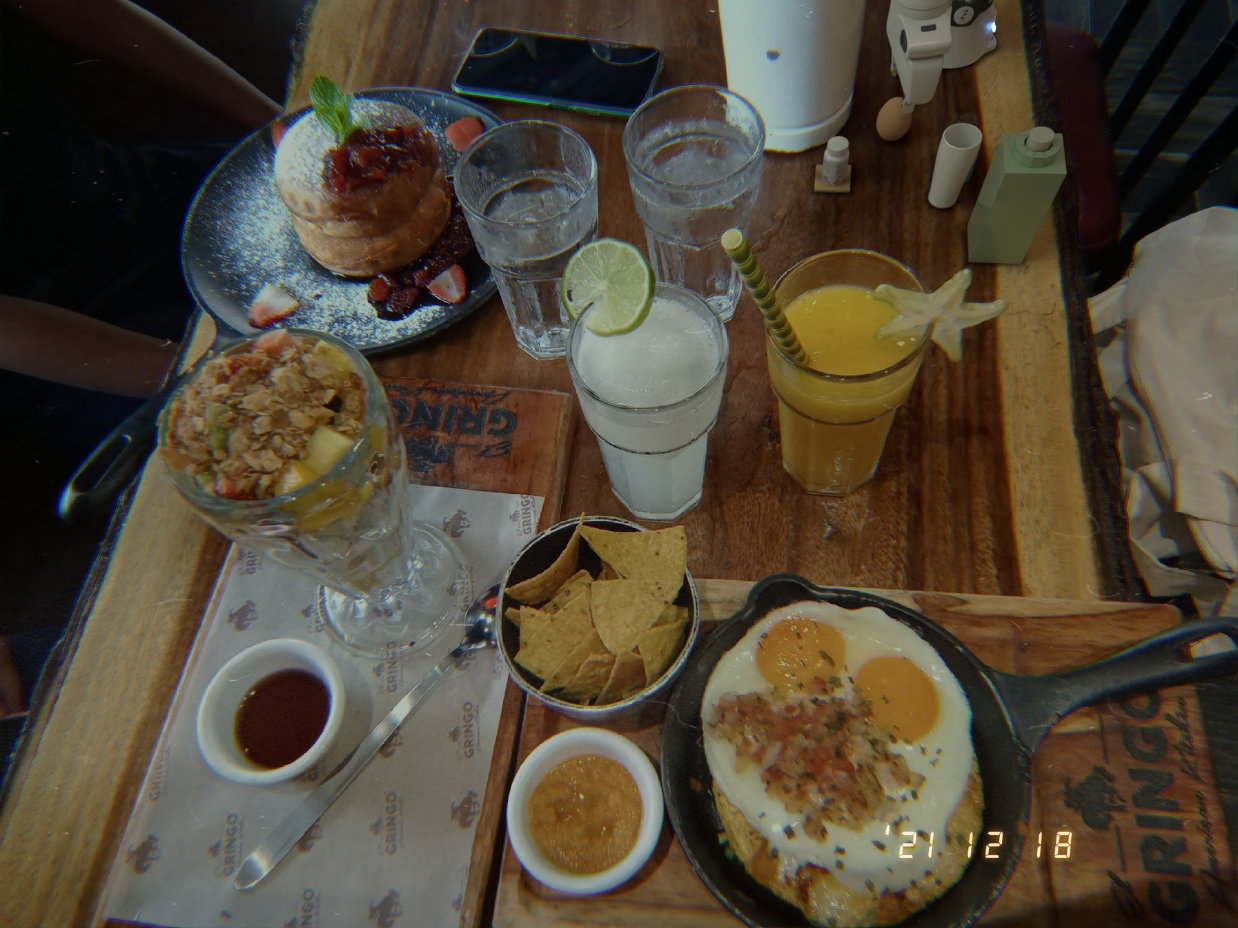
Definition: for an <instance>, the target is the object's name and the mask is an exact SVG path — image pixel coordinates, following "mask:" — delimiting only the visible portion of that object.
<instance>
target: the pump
mask: <svg viewBox="0 0 1238 928" xmlns="http://www.w3.org/2000/svg"><path fill="white" fill-rule="evenodd" d="M1031 129H1032V130H1031V131H1030V134H1029V136H1028V138H1027V141H1026V143H1025V145H1026V147H1027V148H1028V149H1029V150H1031V151H1034V152H1045V151H1047V150H1048V149H1049V148H1050V145H1051V143H1052V141H1053V139H1054V137H1055V134H1054V133H1055V131H1054V130H1053V129H1052V128H1050V127H1047V126H1041V125H1040V126H1036V127H1033V128H1031Z"/></svg>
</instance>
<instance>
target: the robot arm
mask: <svg viewBox="0 0 1238 928" xmlns="http://www.w3.org/2000/svg"><path fill="white" fill-rule="evenodd" d="M994 1H995V0H890V5H889V10H888V16H887V19H886V35H887V39H888V41H889V45H890V49H891V63H890V73H891V76H892V77H896V76H897V77H898V76H899V81H900V84H901V88H902V92H903V95H904V99H902V104H901V109H902V113H912V112H914V110H915V106H918V105H924V104H928V103H929V102H930V101H932V100H933V98H934V96H935V93H936V91H937V88H938V84H939V81H940V77H941V76H942V75H941V74H942V71H943V69H958V68H963V67H967V66H969V65H972V64H974V63H975V62H977V61H978V60H979V59H981V57H983V56H984V55H985V54H986V53H990V52H992V51H993V50H995V49H996V47H997V40H996V39H997V38H996V37H995V34H994V33H995V32H996V29H997V26H996V24H995V23H996V20H997V16H998V9H996V8H997V7H996V6H995V4H994Z"/></svg>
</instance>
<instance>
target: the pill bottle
mask: <svg viewBox="0 0 1238 928" xmlns="http://www.w3.org/2000/svg"><path fill="white" fill-rule="evenodd" d="M849 145H850V141H849V140H848V139H847V137H844V136H841V135H840V136H839V135H838V136H833V137H831V138H830V139H828V141H827V145H826V149H825V150H824V153H823V159H822V160H823V162H822V165H823V169H822V180H823V182H824V183H826V184H828V185H838V184H840V183H842V182H843V181H844V180H845V177H846V172H847V166H848V165H849V158H850V150H849Z"/></svg>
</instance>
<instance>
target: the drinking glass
mask: <svg viewBox="0 0 1238 928" xmlns="http://www.w3.org/2000/svg"><path fill="white" fill-rule="evenodd" d="M957 123H958V122H957ZM957 123H955V124H951V125H949V126H948V127H946V129H945V130H944V131H943V133H942V136H941V139H940V142H939V145H938V148H937V152H936V157H935V161H934V162H935V163H934V168H933V172H932V177H931V183H930V187H929V192H928V195H927V198H928V202H929V204H931V206H933V207H935V208H938V209H947V208H951V207H953V206H954V205H955V204H956V202H957V200H958V197H959V196H960V193H961V191H962V189H963V187H964V184H965V183H966V182H965V180H966V178H967V176H968V174H969V172H970V170H971V168H972V165H973V163H974V161H975V159H976V156H977V154H978V155H979V152H980V148H981V144H982V141H983V133H982V131H981V129H980V128H978V127H975V126H973V125H971V124H966V123H958V124H957Z"/></svg>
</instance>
